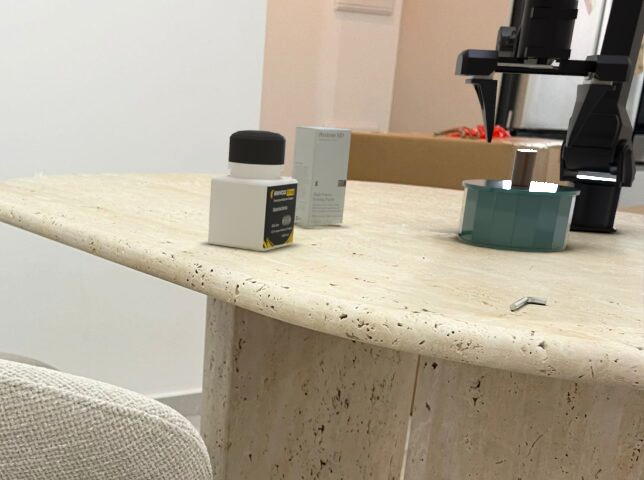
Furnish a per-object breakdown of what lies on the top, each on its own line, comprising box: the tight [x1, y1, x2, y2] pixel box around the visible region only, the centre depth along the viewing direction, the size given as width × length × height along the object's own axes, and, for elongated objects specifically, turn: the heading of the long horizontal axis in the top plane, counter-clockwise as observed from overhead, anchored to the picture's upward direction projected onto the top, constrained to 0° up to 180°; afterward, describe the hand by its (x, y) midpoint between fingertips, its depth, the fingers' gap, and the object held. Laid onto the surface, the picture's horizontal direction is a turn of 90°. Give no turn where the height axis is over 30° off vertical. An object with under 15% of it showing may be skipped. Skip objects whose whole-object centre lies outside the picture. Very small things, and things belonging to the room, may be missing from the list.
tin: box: [457, 187, 576, 253], centre depth 115 cm, size 13×13×6 cm
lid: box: [461, 149, 581, 196], centre depth 113 cm, size 14×14×5 cm
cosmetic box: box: [291, 125, 352, 229], centre depth 121 cm, size 6×4×12 cm
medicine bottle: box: [207, 129, 298, 252], centre depth 103 cm, size 7×7×12 cm
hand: (528, 144), depth 113 cm, fingers open, 9 cm apart
